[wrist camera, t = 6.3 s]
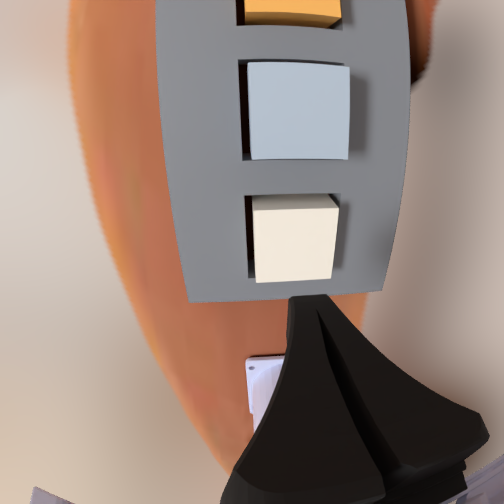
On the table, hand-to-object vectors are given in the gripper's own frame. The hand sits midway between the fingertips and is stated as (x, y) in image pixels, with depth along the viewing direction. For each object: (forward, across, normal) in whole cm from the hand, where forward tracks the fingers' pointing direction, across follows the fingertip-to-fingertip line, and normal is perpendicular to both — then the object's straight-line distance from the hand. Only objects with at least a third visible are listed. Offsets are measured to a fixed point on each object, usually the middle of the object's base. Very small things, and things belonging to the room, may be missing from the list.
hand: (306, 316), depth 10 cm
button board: (+8, 0, -7) cm, 10 cm away
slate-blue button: (+6, 0, -7) cm, 9 cm away
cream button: (+7, 0, 0) cm, 7 cm away
